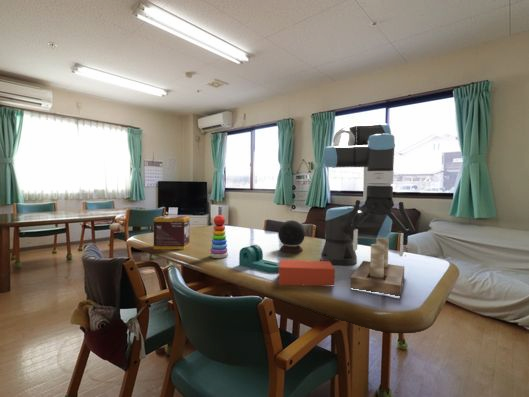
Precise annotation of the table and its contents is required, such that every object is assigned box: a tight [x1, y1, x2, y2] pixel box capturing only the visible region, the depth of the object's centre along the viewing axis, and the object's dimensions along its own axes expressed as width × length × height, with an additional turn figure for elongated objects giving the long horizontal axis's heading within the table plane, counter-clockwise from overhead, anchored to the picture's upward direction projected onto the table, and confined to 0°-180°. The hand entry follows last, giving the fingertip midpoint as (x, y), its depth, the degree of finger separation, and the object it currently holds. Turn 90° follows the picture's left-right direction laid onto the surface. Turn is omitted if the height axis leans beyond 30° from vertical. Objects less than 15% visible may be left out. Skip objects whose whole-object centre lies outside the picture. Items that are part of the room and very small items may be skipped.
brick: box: [278, 259, 336, 286], centre depth 95 cm, size 18×9×6 cm, turn 87°
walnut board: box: [349, 238, 405, 297], centre depth 93 cm, size 14×22×14 cm, turn 151°
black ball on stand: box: [277, 220, 306, 254], centre depth 138 cm, size 13×13×15 cm
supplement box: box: [153, 215, 191, 250], centre depth 142 cm, size 10×15×16 cm
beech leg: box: [369, 243, 385, 280], centre depth 87 cm, size 4×4×14 cm
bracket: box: [238, 244, 279, 274], centre depth 109 cm, size 18×7×8 cm, turn 53°
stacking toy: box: [210, 214, 229, 259], centre depth 125 cm, size 8×8×19 cm
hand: (377, 252), depth 88 cm, fingers open, 13 cm apart
